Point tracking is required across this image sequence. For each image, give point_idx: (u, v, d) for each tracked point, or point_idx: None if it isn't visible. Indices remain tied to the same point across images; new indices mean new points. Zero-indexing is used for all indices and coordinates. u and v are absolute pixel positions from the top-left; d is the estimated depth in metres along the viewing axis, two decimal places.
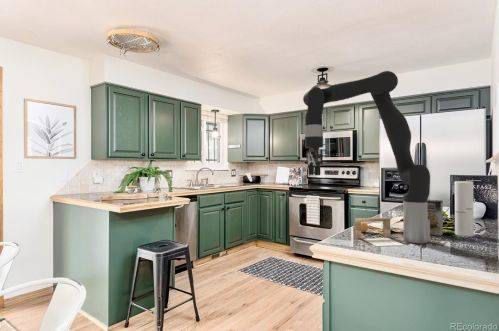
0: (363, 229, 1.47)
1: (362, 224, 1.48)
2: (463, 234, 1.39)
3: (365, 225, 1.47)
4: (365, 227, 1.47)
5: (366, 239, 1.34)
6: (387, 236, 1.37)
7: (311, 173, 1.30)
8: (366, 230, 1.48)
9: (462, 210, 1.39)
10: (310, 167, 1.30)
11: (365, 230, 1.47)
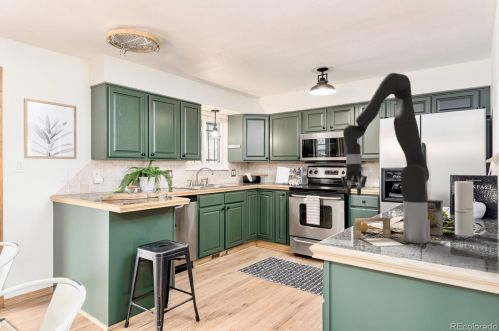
0: (363, 229, 1.47)
1: (362, 224, 1.48)
2: (463, 234, 1.39)
3: (365, 225, 1.47)
4: (365, 227, 1.47)
5: (366, 239, 1.34)
6: (387, 236, 1.37)
7: None
8: (366, 230, 1.48)
9: (462, 210, 1.39)
10: None
11: (365, 230, 1.47)
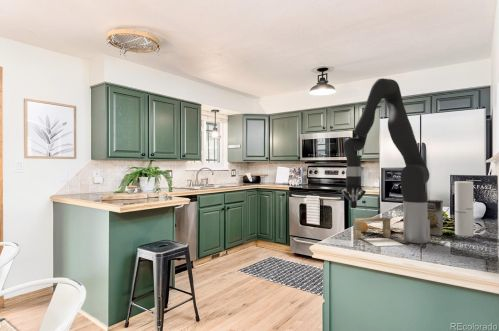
0: (363, 229, 1.47)
1: (362, 224, 1.48)
2: (463, 234, 1.39)
3: (365, 225, 1.47)
4: (365, 227, 1.47)
5: (366, 239, 1.34)
6: (387, 236, 1.37)
7: None
8: (366, 230, 1.48)
9: (462, 210, 1.39)
10: None
11: (365, 230, 1.47)
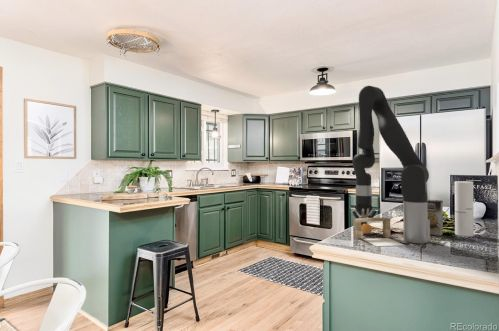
0: (365, 233, 1.45)
1: (366, 232, 1.43)
2: (463, 234, 1.39)
3: (368, 232, 1.44)
4: (367, 233, 1.44)
5: (366, 239, 1.34)
6: (387, 236, 1.37)
7: None
8: None
9: (462, 210, 1.39)
10: None
11: None
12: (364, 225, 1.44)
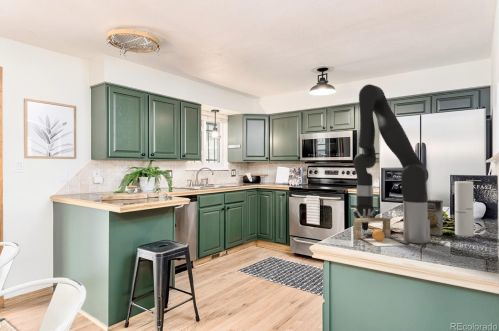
0: (379, 240, 1.30)
1: (379, 234, 1.29)
2: (463, 234, 1.39)
3: (382, 236, 1.29)
4: (381, 238, 1.29)
5: (366, 239, 1.34)
6: (387, 236, 1.37)
7: None
8: None
9: (462, 210, 1.39)
10: None
11: (380, 240, 1.30)
12: (375, 230, 1.32)
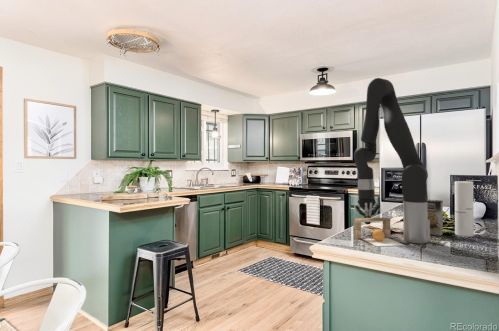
0: (379, 240, 1.30)
1: (379, 234, 1.29)
2: (463, 234, 1.39)
3: (382, 236, 1.29)
4: (381, 238, 1.29)
5: (366, 239, 1.34)
6: (387, 236, 1.37)
7: None
8: None
9: (462, 210, 1.39)
10: None
11: (380, 240, 1.30)
12: (375, 230, 1.32)
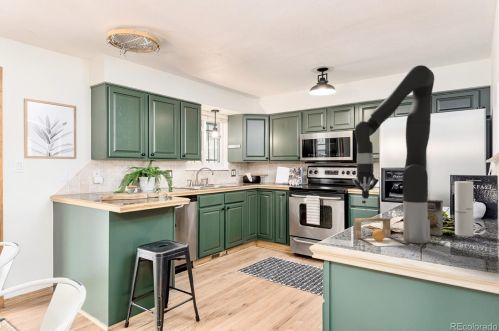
0: (379, 240, 1.30)
1: (379, 234, 1.29)
2: (463, 234, 1.39)
3: (382, 236, 1.29)
4: (381, 238, 1.29)
5: (366, 239, 1.34)
6: (387, 236, 1.37)
7: None
8: None
9: (462, 210, 1.39)
10: None
11: (380, 240, 1.30)
12: (375, 230, 1.32)
